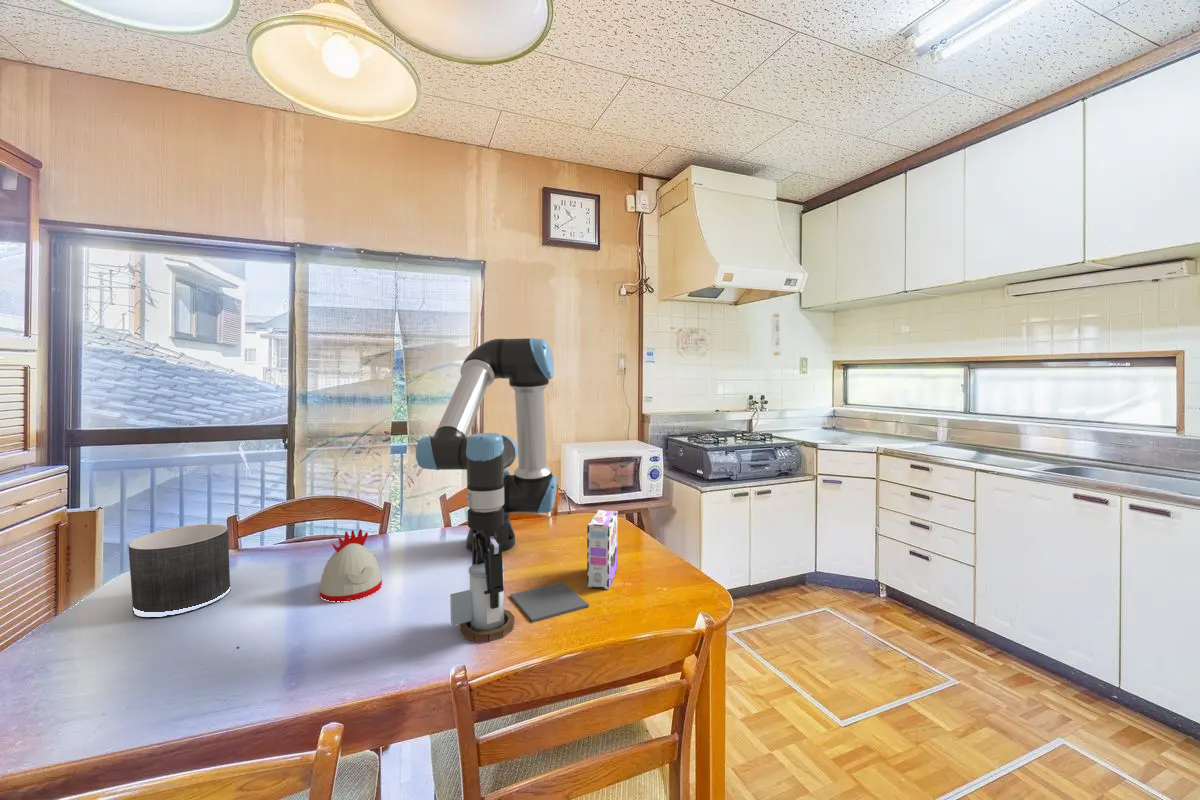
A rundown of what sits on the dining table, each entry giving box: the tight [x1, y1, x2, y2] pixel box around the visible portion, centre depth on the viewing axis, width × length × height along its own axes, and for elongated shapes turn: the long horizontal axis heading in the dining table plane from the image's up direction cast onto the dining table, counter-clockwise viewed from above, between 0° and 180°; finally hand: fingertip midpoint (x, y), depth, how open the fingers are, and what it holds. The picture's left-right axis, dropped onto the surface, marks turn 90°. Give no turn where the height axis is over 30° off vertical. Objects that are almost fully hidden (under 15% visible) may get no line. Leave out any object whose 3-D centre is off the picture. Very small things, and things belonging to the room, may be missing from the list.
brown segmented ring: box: [459, 608, 516, 643], centre depth 103 cm, size 11×11×2 cm
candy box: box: [586, 509, 619, 590], centre depth 127 cm, size 14×6×16 cm, turn 168°
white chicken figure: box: [319, 528, 383, 603], centre depth 121 cm, size 14×14×15 cm
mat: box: [509, 581, 590, 623], centre depth 115 cm, size 14×14×1 cm
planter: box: [128, 523, 231, 612], centre depth 115 cm, size 18×18×16 cm
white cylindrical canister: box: [449, 563, 506, 631], centre depth 102 cm, size 11×7×13 cm, turn 120°
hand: (487, 613), depth 103 cm, fingers closed on white cylindrical canister, 7 cm apart
